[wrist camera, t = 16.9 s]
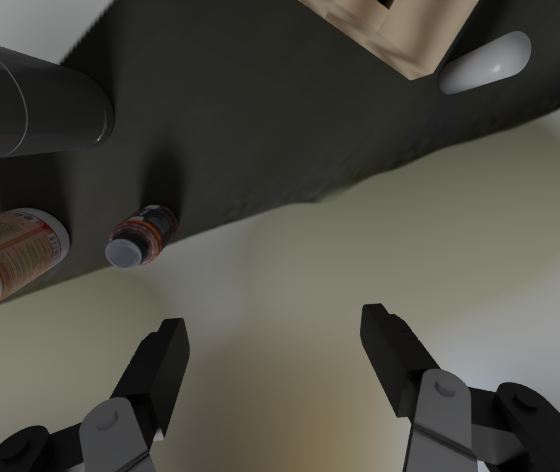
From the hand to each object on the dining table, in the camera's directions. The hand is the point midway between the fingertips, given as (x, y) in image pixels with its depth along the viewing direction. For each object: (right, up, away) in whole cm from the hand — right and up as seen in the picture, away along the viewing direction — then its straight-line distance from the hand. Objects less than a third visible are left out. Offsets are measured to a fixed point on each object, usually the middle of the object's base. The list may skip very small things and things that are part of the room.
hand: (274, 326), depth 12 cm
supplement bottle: (-18, +6, +29) cm, 35 cm away
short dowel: (+24, +25, +24) cm, 42 cm away
